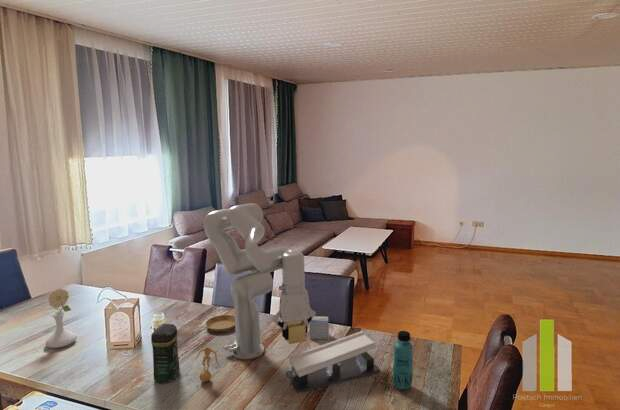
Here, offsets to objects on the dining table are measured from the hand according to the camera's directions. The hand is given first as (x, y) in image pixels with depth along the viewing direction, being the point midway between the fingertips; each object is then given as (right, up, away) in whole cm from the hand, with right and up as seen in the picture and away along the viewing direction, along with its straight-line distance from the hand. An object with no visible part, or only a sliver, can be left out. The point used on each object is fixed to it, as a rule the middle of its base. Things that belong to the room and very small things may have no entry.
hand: (294, 336), depth 140 cm
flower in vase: (-99, -13, +30) cm, 104 cm away
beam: (+14, -8, +4) cm, 17 cm away
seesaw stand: (+14, -15, +6) cm, 21 cm away
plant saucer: (-35, -10, +44) cm, 57 cm away
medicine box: (+9, -11, +33) cm, 36 cm away
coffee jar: (-46, -16, +6) cm, 50 cm away
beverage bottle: (+37, -17, -3) cm, 40 cm away
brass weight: (0, -1, 0) cm, 1 cm away
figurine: (-31, -17, +3) cm, 36 cm away
